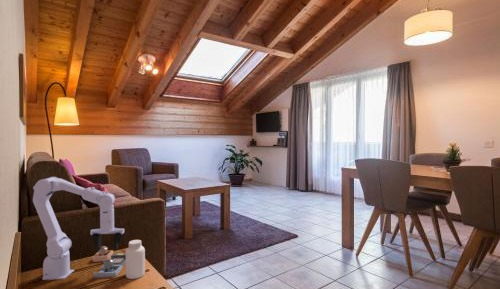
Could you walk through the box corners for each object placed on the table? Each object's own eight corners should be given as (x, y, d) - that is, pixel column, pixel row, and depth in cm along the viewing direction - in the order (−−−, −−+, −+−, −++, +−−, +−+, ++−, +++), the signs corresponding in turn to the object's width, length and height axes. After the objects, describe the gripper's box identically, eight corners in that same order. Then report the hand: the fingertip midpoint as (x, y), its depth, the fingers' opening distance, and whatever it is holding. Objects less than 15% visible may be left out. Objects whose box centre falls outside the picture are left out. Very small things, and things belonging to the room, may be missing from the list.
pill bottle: (138, 280, 121) (137, 245, 121) (121, 278, 123) (121, 244, 122) (148, 271, 129) (148, 239, 129) (133, 270, 130) (132, 238, 130)
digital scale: (122, 268, 133) (121, 261, 133) (103, 269, 132) (103, 262, 132) (129, 259, 143) (129, 253, 143) (112, 260, 142) (112, 253, 142)
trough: (93, 277, 124) (93, 273, 124) (101, 269, 131) (101, 265, 131) (116, 276, 124) (115, 272, 124) (122, 268, 132) (122, 264, 132)
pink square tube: (92, 262, 140) (92, 256, 140) (99, 256, 147) (99, 250, 147) (107, 261, 140) (107, 255, 140) (113, 256, 147) (113, 250, 147)
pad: (120, 264, 134) (119, 262, 134) (108, 264, 134) (108, 262, 134) (124, 259, 140) (124, 257, 140) (113, 260, 139) (113, 258, 139)
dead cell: (97, 260, 141) (96, 248, 141) (101, 256, 145) (101, 245, 145) (105, 260, 141) (104, 248, 141) (109, 256, 145) (109, 245, 145)
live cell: (102, 274, 126) (101, 261, 126) (106, 270, 130) (106, 257, 130) (111, 274, 126) (111, 260, 126) (115, 270, 130) (114, 257, 130)
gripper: (86, 223, 126) (87, 253, 126) (119, 222, 127) (120, 252, 127) (94, 218, 133) (95, 247, 133) (125, 217, 134) (126, 246, 134)
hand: (107, 249), depth 130 cm, fingers open, 7 cm apart
